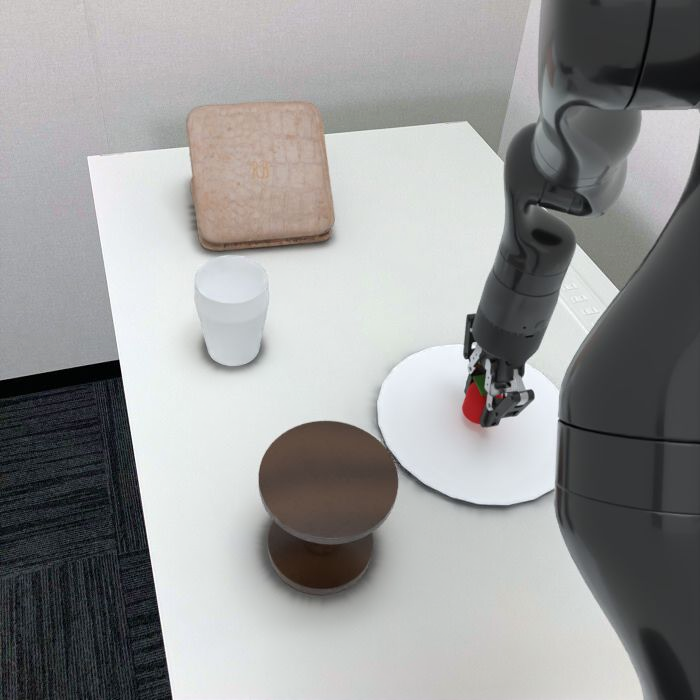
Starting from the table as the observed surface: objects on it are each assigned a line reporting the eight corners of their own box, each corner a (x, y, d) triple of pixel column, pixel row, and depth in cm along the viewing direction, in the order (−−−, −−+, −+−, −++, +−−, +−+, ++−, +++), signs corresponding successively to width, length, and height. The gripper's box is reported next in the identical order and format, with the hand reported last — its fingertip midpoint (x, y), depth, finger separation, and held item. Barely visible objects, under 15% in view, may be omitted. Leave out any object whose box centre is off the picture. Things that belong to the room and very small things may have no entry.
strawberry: (501, 421, 89) (512, 393, 85) (469, 427, 88) (479, 399, 84) (487, 395, 92) (497, 367, 88) (456, 400, 91) (465, 372, 87)
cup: (251, 382, 92) (250, 313, 84) (185, 361, 94) (178, 291, 85) (279, 335, 98) (281, 266, 90) (217, 316, 100) (213, 246, 91)
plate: (397, 519, 81) (399, 513, 80) (360, 353, 97) (361, 347, 97) (608, 500, 85) (612, 494, 84) (537, 344, 102) (540, 338, 101)
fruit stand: (397, 588, 75) (417, 522, 66) (272, 618, 72) (274, 552, 62) (361, 483, 83) (374, 411, 74) (247, 504, 80) (246, 432, 71)
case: (200, 257, 108) (193, 162, 96) (187, 177, 122) (180, 85, 110) (336, 247, 112) (345, 155, 101) (309, 170, 126) (314, 81, 115)
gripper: (458, 266, 81) (431, 370, 93) (512, 360, 72) (474, 462, 84) (519, 259, 83) (485, 362, 95) (579, 349, 73) (533, 450, 86)
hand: (480, 408), depth 89 cm, fingers closed on strawberry, 4 cm apart
